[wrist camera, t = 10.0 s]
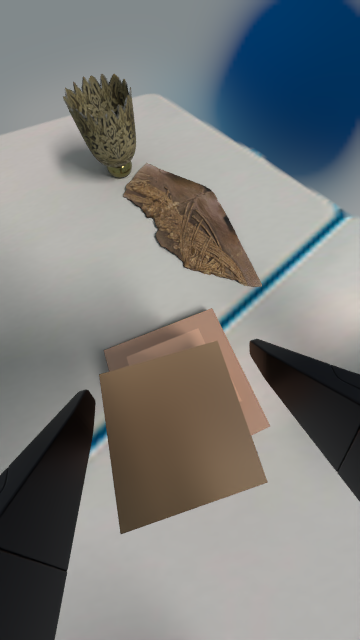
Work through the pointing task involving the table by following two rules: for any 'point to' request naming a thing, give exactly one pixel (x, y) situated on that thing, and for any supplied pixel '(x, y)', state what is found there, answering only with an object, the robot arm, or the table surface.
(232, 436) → the brown wooden block
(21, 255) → the table surface
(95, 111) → the cup
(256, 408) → the terracotta holder
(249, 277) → the wooden fragment
